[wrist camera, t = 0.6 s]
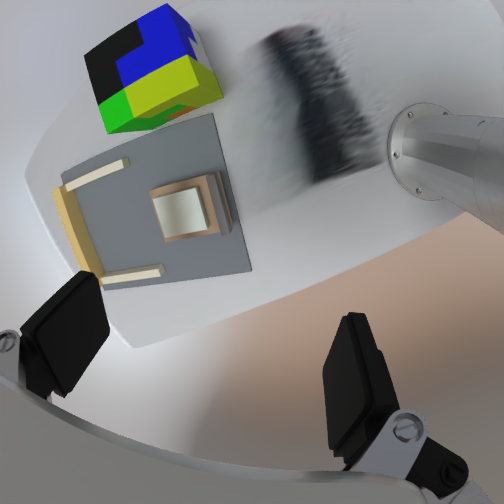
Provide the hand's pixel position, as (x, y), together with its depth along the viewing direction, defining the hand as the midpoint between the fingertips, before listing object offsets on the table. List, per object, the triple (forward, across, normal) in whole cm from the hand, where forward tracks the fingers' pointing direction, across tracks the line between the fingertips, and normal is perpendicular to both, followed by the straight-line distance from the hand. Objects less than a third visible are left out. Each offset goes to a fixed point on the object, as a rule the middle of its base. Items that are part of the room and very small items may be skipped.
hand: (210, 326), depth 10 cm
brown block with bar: (+25, +8, +3) cm, 26 cm away
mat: (+26, +16, +6) cm, 31 cm away
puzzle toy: (+26, +12, -13) cm, 31 cm away
